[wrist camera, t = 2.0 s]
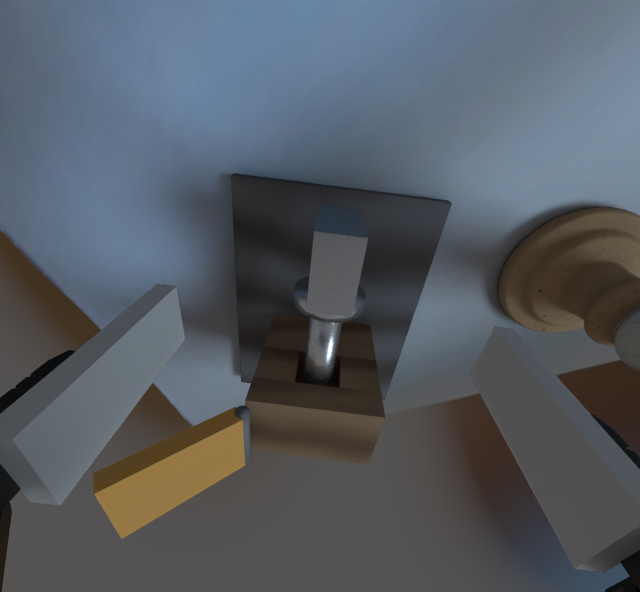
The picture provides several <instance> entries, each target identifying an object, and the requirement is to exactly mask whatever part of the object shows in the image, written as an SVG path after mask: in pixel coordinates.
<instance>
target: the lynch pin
mask: <svg viewBox="0 0 640 592" xmlns="http://www.w3.org/2000/svg"><path fill="white" fill-rule="evenodd" d="M367 242H368V235H367V232H366V228H365V224H364V220H363V216H362V212H361V210H359V209H351V208H344V207H336V206H328V205H321V206H320V210H319V214H318V218H317V222H316V226H315V230H314V237H313V247H312V257H311V267H310V276H307V277H304V278H302V279H300V280H299V281H298V282H297V283H296V284H295V288H294V304H295V306H296V308H297V309H298V310H299V311H300V312H301V313H303V314H304V315H306V316H308V317H310V322H309V331H308V340H307V349H306V358H305V367H304V376H303V383H306V384H314V385H322V386H330V385H331V379H332V374H333V369H334V363H335V358H336V352H337V347H338V342H339V336H340V331H341V325H342V322H348V321H351V320H354V319H356V318H357V317H359V316H360V315H361V314H362V312H363V309H364V304H365V300H366V294H365V292H364V290H363V289H362V288H361V287H360V286H359V281H360V276H361V271H362V266H363V261H364V256H365V252H366V247H367Z"/></svg>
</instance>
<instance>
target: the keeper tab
mask: <svg viewBox="0 0 640 592" xmlns="http://www.w3.org/2000/svg"><path fill="white" fill-rule="evenodd" d="M250 458H251V446H250V412H249V408H248V407H247V406H239V407H238V408H236V407H234V408H232V409H230V410H228V411H226V412H224V413H221V414H219V415H217V416H215V417H213V418H211V419H209V420H206V421H204V422H202V423H200V424H198V425H196V426H193V427H191V428H189V429H187V430H185V431H183V432H181V433H178V434H176V435H174V436H172V437H170V438H168V439H166V440H163V441H161V442H159V443H157V444H155V445H153V446H150V447H148V448H146V449H144V450H142V451H140V452H138V453H136V454H133V455H131V456H129V457H127V458H125V459H123V460H120V461H118V462H116V463H114V464H112V465H110V466H108V467H105V468H103V469H101V470H99V471H97V472H95V473H93V483H94V494H95V496H96V498H97V499H98V501H99V503H100V504H101V506H102V507H103V509H104V511H105V512H106V514H107V516H108V517H109V519H110V520H111V522H112V524H113V526H114V527H115V529H116V530H117V532H118V533H119V535H120V537H121V538H124V537H126V536H127V535H129V534H131V533H132V532H134V531H136V530H137V529H139V528H141V527H142V526H144V525H146V524H148V523H149V522H151V521H153V520H154V519H156V518H158V517H159V516H161V515H163V514H164V513H166V512H167V511H169V510H171V509H173V508H174V507H176V506H177V505H179V504H181V503H183V502H184V501H186V500H188V499H189V498H191V497H193V496H194V495H196V494H198V493H200V492H201V491H203V490H204V489H206V488H208V487H210V486H211V485H213V484H215V483H216V482H218V481H220V480H221V479H223V478H224V477H226V476H228V475H230V474H231V473H233V472H235V471H236V470H238V469H240V468H241V467H243V466H245V463H247V462H249V460H250Z"/></svg>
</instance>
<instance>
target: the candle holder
mask: <svg viewBox="0 0 640 592" xmlns="http://www.w3.org/2000/svg"><path fill="white" fill-rule="evenodd" d="M498 294H499V298H500V302H501V305H502V307H503V309H504V310H505V312H506V313H507V314H508V315H509V317H510V318H511V319H513V320H514V321H515V322H517V323H518V324H519V325H521V326H523V327H525V328H528V329H531V330H535V331H540V332H551V333H556V332H567V331H572V330H577V329H580V328H585V331H586V333H587V334H588V336H589V337H590V338H591V339H593V340H594V341H596V342H597V343H600V344H603V345H607V346H615V349H616V352H617V354H618V355H619V357H620V358H621V359H622V360H623V361H624V362H625V363H626V364H628V365H629V366H631V367H633V368H635V369H637V370H639V371H640V216H639V215H637V214H635V213H632V212H629V211H627V210H623V209H617V208H611V207H594V208H587V209H581V210H577V211H574V212H570V213H567V214H565V215H562V216H560V217H557V218H555V219H553V220H551V221H550V222H548V223H546V224H544V225H542V226H541V227H540V228H538V229H537V230H535V231H534V232H532V233H531V234H530V235H529V236H528V237H526V238H525V239H524V240H523V241H522V242H521V243H520V244H519V245H518V246H517V247H516V249H515V250H514V251H513V252H512V254H511V255H510V257H509V258H508V260H507V261H506V263H505V265H504V267H503V269H502V272H501V275H500V279H499V285H498Z"/></svg>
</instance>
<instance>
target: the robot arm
mask: <svg viewBox="0 0 640 592" xmlns="http://www.w3.org/2000/svg"><path fill="white" fill-rule="evenodd" d="M184 340H185V335H184V330H183V324H182V318H181V312H180V306H179V300H178V294H177V288H176V286H169V285H161V284H157V285H156V286H155V287H153V288H152V289H151V290H150V291H149V292H147V293H146V294H145V295H144V296H142V297H141V298H140V299H139V300H138V301H136V302H135V303H134V304H133V305H132V306H130V307H129V308H128V309H127V310H125V311H124V312H123V313H122V314H121V315H119V316H118V317H117V318H116V319H115V320H113V321H112V322H111V323H110V324H109V325H107V326H106V327H105V328H104V329H102V330H101V331H100V332H99V333H98V334H96V335H95V336H94V337H93V338H92V339H90V340H89V341H88V342H87V343H86V344H84V345H83V346H82V347H81V348H79V349H78V350H77V351H72V350H68V351H66V352H64V353H62V354H60V355H58V356H56V357H54V358H52V359H50V360H48V361H47V362H46V363H44V364H43V365H42V366H40V367H39V368H38V369H37V370H35V371H34V372H33V373H32V374H31V375H30V377H26V378H25V379H24V380H22V381H21V382H20V383H19V384H17V385H16V388H15V389H11V390H10V391H8V392H7V393H6V394H4V395H3V396H2V397H1V398H0V592H1V591H2V584H3V576H4V568H5V561H6V553H7V545H8V537H9V530H10V522H11V514H12V510H11V505H10V503H9V501H10V500H11V499H12V498H13V497H14V496H15V495H16V494H17V493H18V492H19V490H21V491H22V492H23V494H24V495H25V496H26V497H27V499H28V500H29V501H30V502H37V503H45V504H54V505H61V504H62V502H63V501H64V500H65V498H66V497H67V496H68V494H69V493H70V491H71V490H72V489H73V488H74V486H75V485H76V484H77V482H78V481H79V480H80V478H81V477H82V476H83V474H84V473H85V472H86V470H87V469H88V468H89V466H90V465H91V464H92V462H93V461H94V460H95V458H96V457H97V456H98V455H99V453H100V452H101V451H102V449H103V448H104V446H105V445H106V444H107V443H108V441H109V440H110V439H111V437H112V436H113V435H114V433H115V432H116V430H117V429H118V428H119V427H120V425H121V424H122V423H123V421H124V420H125V419H126V417H127V416H128V415H129V413H130V412H131V411H132V409H133V408H134V406H135V405H136V404H137V403H138V401H139V400H140V399H141V397H142V396H143V395H144V393H145V392H146V391H147V389H148V388H149V387H150V385H151V384H152V383H153V381H154V380H155V379H156V377H157V376H158V375H159V373H160V372H161V371H162V369H163V368H164V367H165V365H166V364H167V363H168V361H169V360H170V359H171V357H172V356H173V355H174V353H175V352H176V351H177V349H178V348H179V347H180V345H181V344H182V343H183V341H184ZM470 376H471V378H472V380H473V382H474V383H475V385H476V387H477V389H478V391H479V393H480V394H481V396H482V398H483V400H484V402H485V404H486V405H487V407H488V409H489V411H490V413H491V415H492V416H493V418H494V420H495V422H496V424H497V426H498V428H499V430H500V431H501V433H502V435H503V437H504V439H505V441H506V442H507V444H508V446H509V448H510V450H511V452H512V454H513V455H514V457H515V459H516V461H517V463H518V465H519V466H520V468H521V470H522V472H523V474H524V476H525V477H526V479H527V481H528V483H529V485H530V487H531V489H532V491H533V492H534V494H535V496H536V498H537V500H538V502H539V503H540V505H541V507H542V509H543V511H544V513H545V515H546V516H547V518H548V520H549V522H550V524H551V525H552V527H553V529H554V531H555V533H556V535H557V537H558V539H559V540H560V542H561V544H562V546H563V548H564V549H565V551H566V553H567V555H568V557H569V559H570V561H571V562H572V564H573V566H574V568H575V569H583V570H590V571H599V572H606V571H607V570H609V569H611V568H613V567H614V566H616V565H618V564H619V563H622V565H623V567H624V568H625V569H626V571H627V573H628V574H629V576H630V577H628V578H626V579H624V580H622V581H621V582H619V583H617V584H615V585H613V586H611V587H609V588H608V589H606V590H605V592H640V458H639V457H638V456H637V454H635V452H634V451H631V450H630V447H629V446H628V445H627V444H626V443H625V442H624V440H623V439H622V438H621V437H620V436H619V435H618V434H617V433H616V432H615V431H614V430H613V429H612V428H610V427H609V426H608V425H607V424H605V423H604V422H603V421H601V420H600V419H599V418H598V417H596V416H595V415H592V414H589V412H588V411H587V410H586V409H585V408H584V407H583V406H582V404H581V403H580V402H579V401H578V400H577V399H576V398H575V397H574V396H573V394H572V393H571V392H570V391H569V390H568V389H567V388H566V387H565V386H564V384H563V383H562V382H561V381H560V380H559V379H558V378H557V376H556V375H555V374H554V373H553V372H552V371H551V370H550V369H549V368H548V366H547V365H546V364H545V363H544V362H543V361H542V360H541V359H540V357H539V356H538V355H537V354H536V353H535V352H534V351H533V350H532V349H531V347H530V346H529V345H528V344H527V343H526V342H525V341H524V340H523V338H522V337H521V336H520V335H519V334H518V333H517V332H516V331H515V330H514V329H511V328H503V327H495V328H494V330H493V332H492V334H491V336H490V338H489V340H488V341H487V343H486V345H485V347H484V349H483V351H482V353H481V355H480V357H479V359H478V360H477V362H476V364H475V366H474V368H473V370H472V372H471V374H470Z"/></svg>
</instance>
